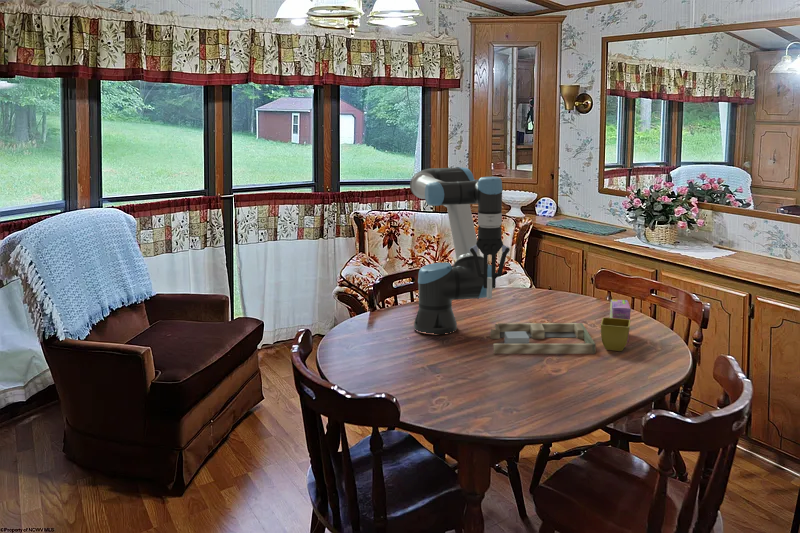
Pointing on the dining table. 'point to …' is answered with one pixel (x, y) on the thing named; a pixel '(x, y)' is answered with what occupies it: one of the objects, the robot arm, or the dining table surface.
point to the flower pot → (614, 333)
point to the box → (620, 310)
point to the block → (516, 337)
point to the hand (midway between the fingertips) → (489, 297)
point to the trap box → (540, 333)
